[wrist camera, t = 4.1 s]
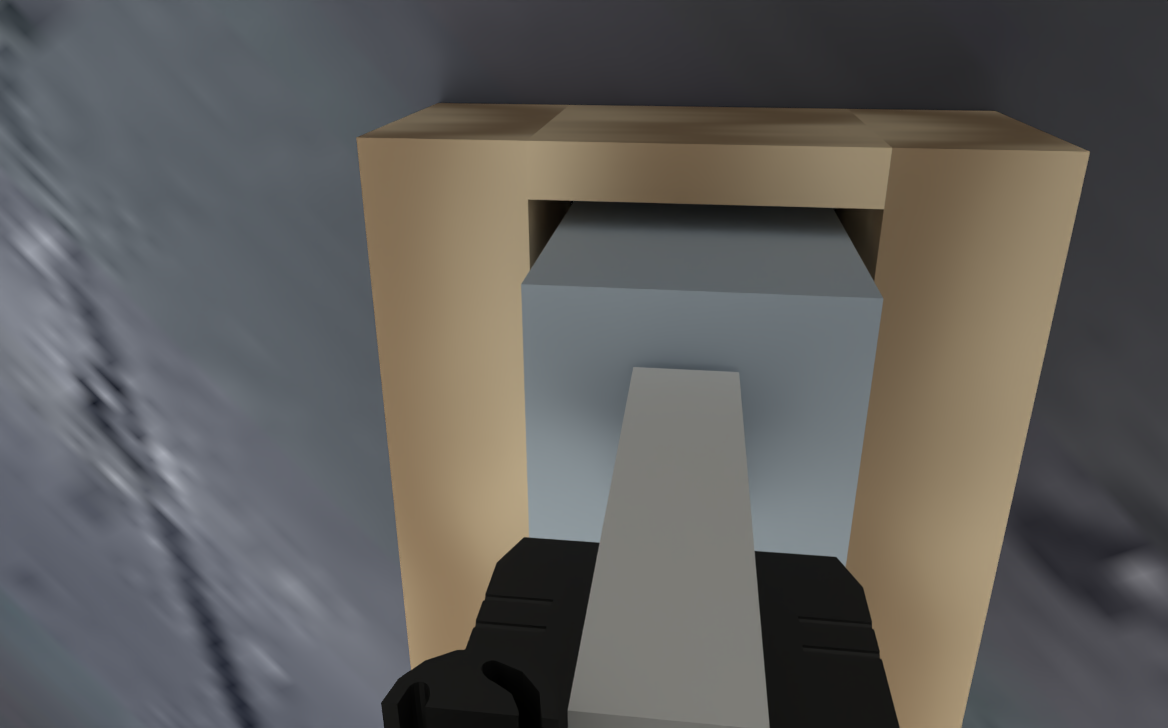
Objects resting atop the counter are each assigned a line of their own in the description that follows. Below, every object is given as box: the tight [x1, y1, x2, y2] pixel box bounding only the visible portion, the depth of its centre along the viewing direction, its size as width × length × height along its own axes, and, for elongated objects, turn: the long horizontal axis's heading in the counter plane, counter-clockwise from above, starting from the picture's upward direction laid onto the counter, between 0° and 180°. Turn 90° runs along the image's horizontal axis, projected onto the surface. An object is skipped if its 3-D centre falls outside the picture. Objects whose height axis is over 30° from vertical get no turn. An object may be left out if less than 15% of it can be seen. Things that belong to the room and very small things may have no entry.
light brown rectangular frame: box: [357, 103, 1090, 728], centre depth 21 cm, size 12×22×5 cm, turn 0°
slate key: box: [521, 201, 883, 567], centre depth 16 cm, size 5×5×7 cm
